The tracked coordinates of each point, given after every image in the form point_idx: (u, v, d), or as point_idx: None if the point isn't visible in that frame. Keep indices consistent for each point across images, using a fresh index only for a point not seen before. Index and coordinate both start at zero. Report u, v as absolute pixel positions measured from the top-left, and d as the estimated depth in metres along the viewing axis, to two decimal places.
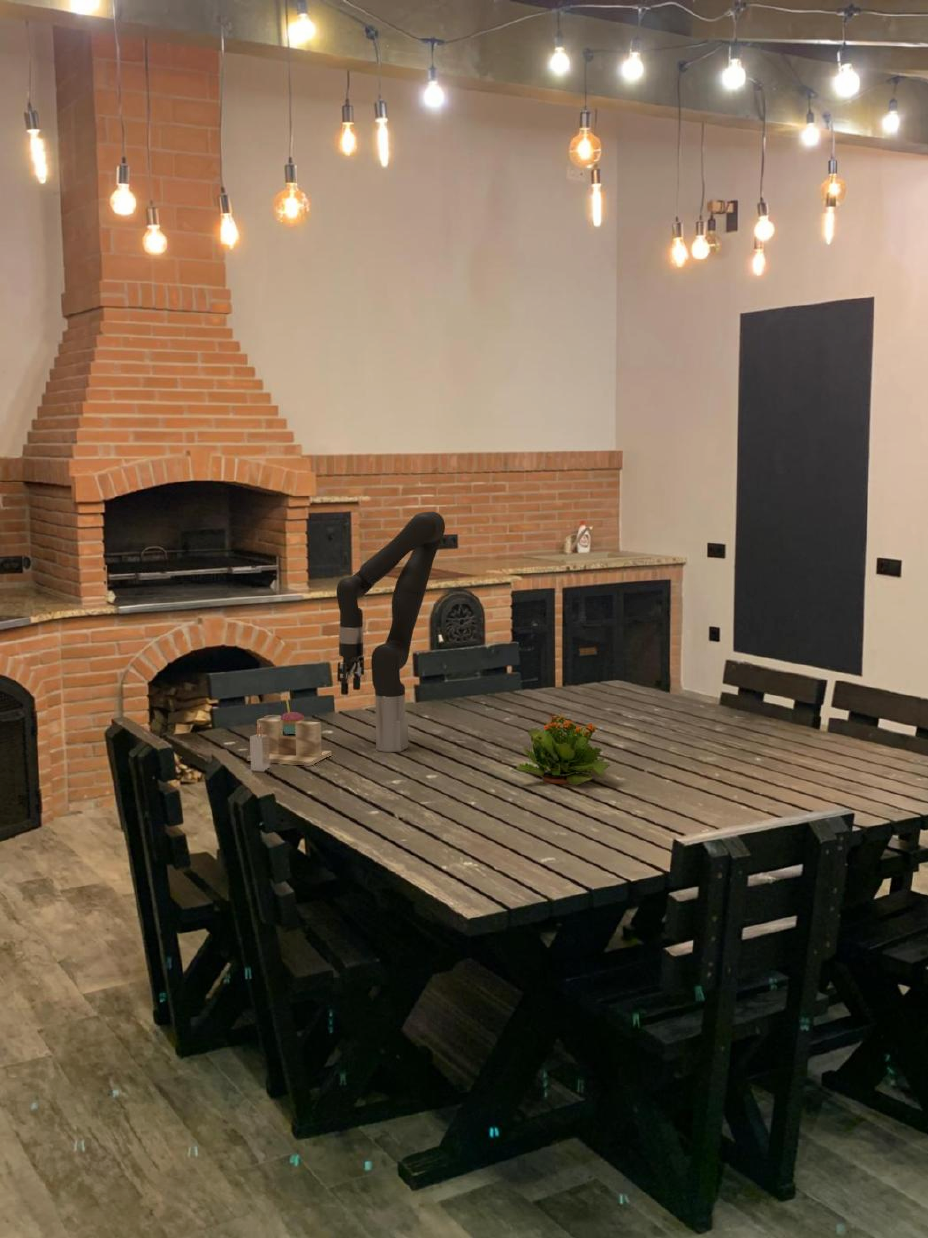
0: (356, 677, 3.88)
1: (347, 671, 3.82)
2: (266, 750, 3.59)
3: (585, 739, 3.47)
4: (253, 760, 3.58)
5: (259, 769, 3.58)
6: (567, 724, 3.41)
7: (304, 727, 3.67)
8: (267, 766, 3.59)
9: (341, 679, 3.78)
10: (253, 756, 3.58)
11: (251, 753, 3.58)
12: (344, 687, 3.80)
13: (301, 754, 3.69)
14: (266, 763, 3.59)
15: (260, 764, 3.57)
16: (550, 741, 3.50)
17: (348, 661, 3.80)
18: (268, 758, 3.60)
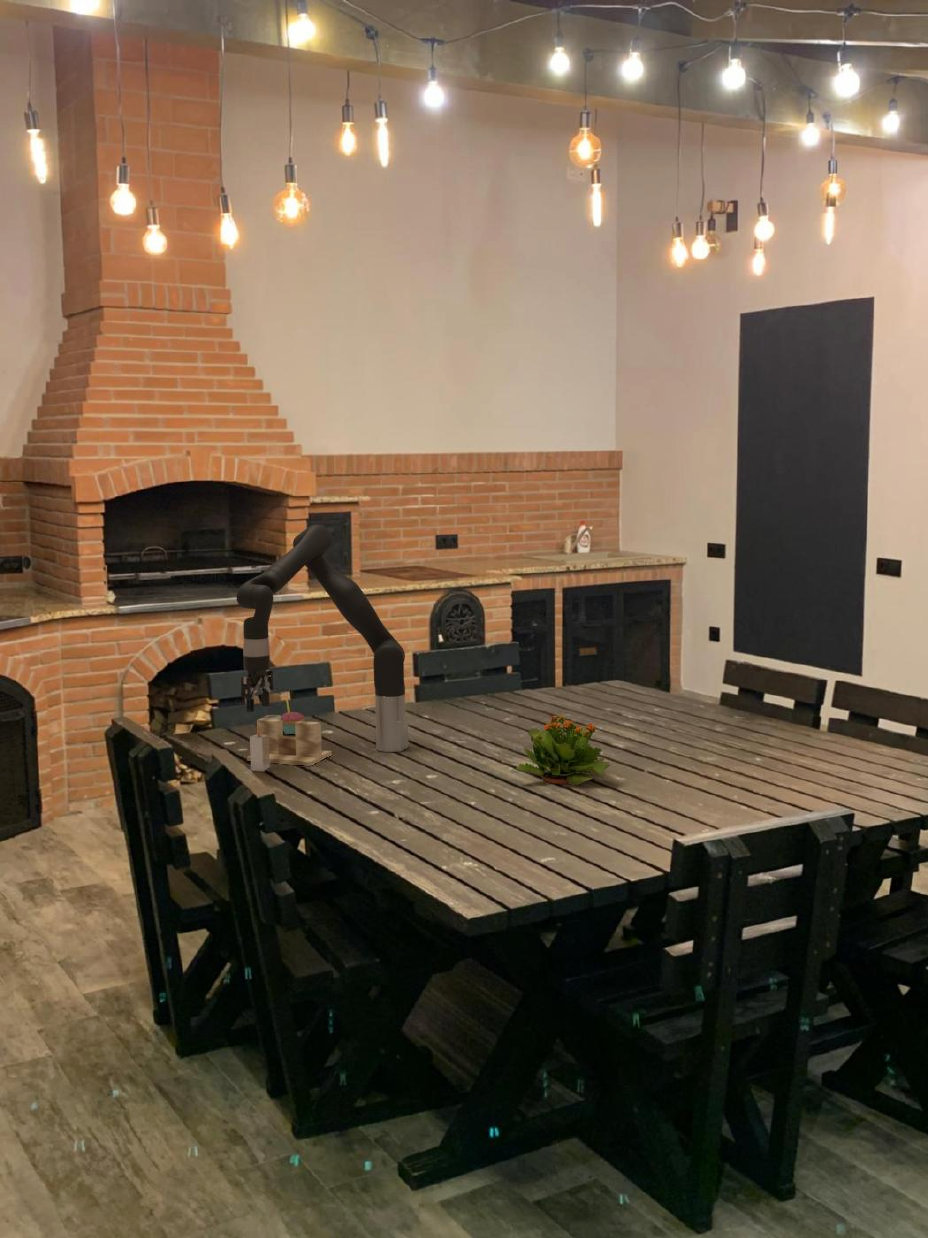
0: (264, 692, 3.61)
1: (253, 686, 3.54)
2: (266, 750, 3.59)
3: (585, 739, 3.47)
4: (253, 760, 3.58)
5: (259, 769, 3.58)
6: (567, 724, 3.41)
7: (304, 727, 3.67)
8: (267, 766, 3.59)
9: (245, 695, 3.50)
10: (253, 756, 3.58)
11: (251, 753, 3.58)
12: (249, 704, 3.52)
13: (301, 754, 3.69)
14: (266, 763, 3.59)
15: (260, 764, 3.57)
16: (550, 741, 3.50)
17: (253, 675, 3.52)
18: (268, 758, 3.60)
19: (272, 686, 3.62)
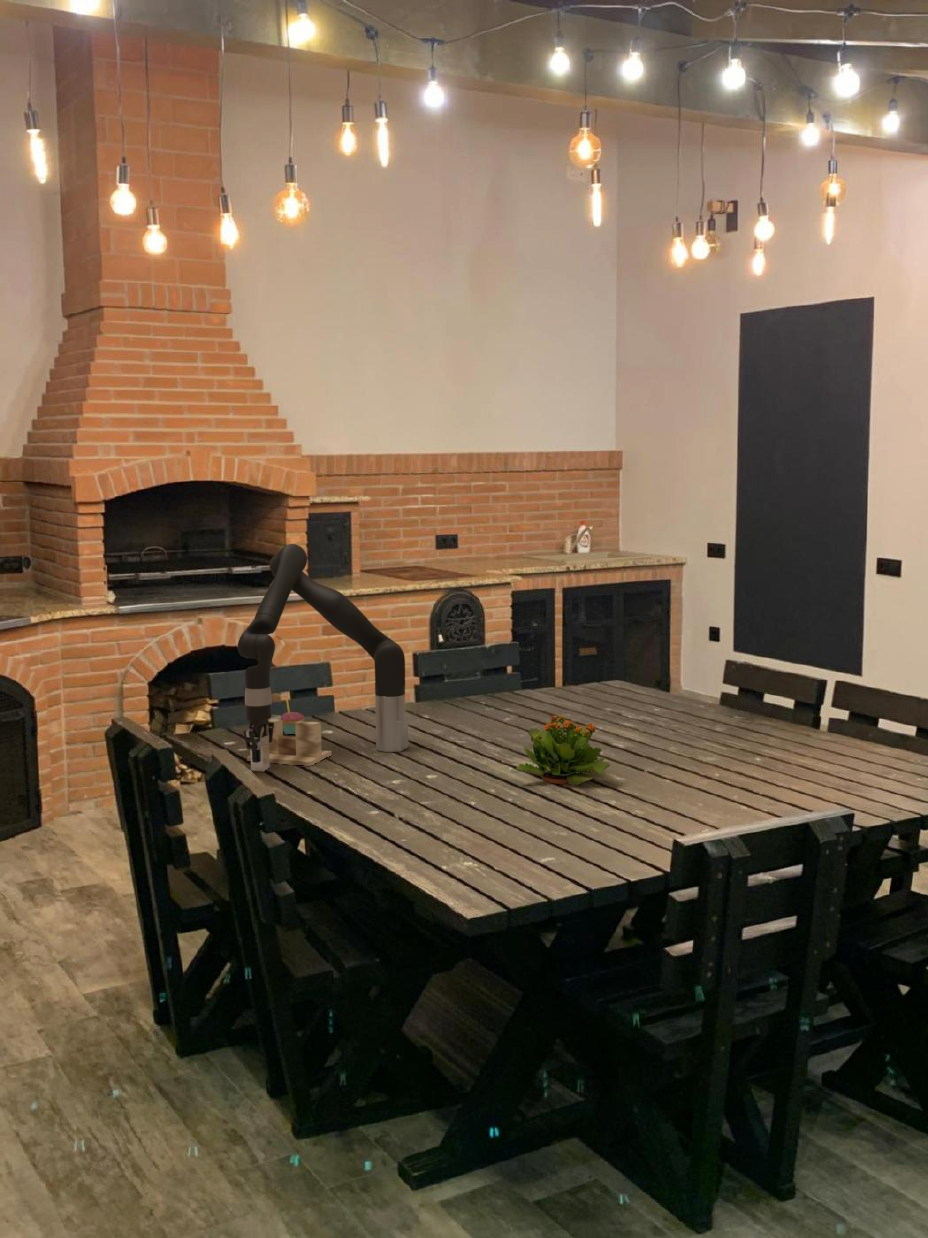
0: None
1: None
2: (266, 750, 3.59)
3: (585, 739, 3.47)
4: None
5: (259, 769, 3.57)
6: (567, 724, 3.41)
7: (304, 727, 3.67)
8: (267, 766, 3.59)
9: (251, 747, 3.54)
10: None
11: (251, 753, 3.58)
12: (255, 754, 3.56)
13: (301, 754, 3.69)
14: (266, 763, 3.59)
15: (260, 764, 3.57)
16: (550, 741, 3.50)
17: (254, 726, 3.54)
18: (268, 758, 3.60)
19: (271, 738, 3.62)
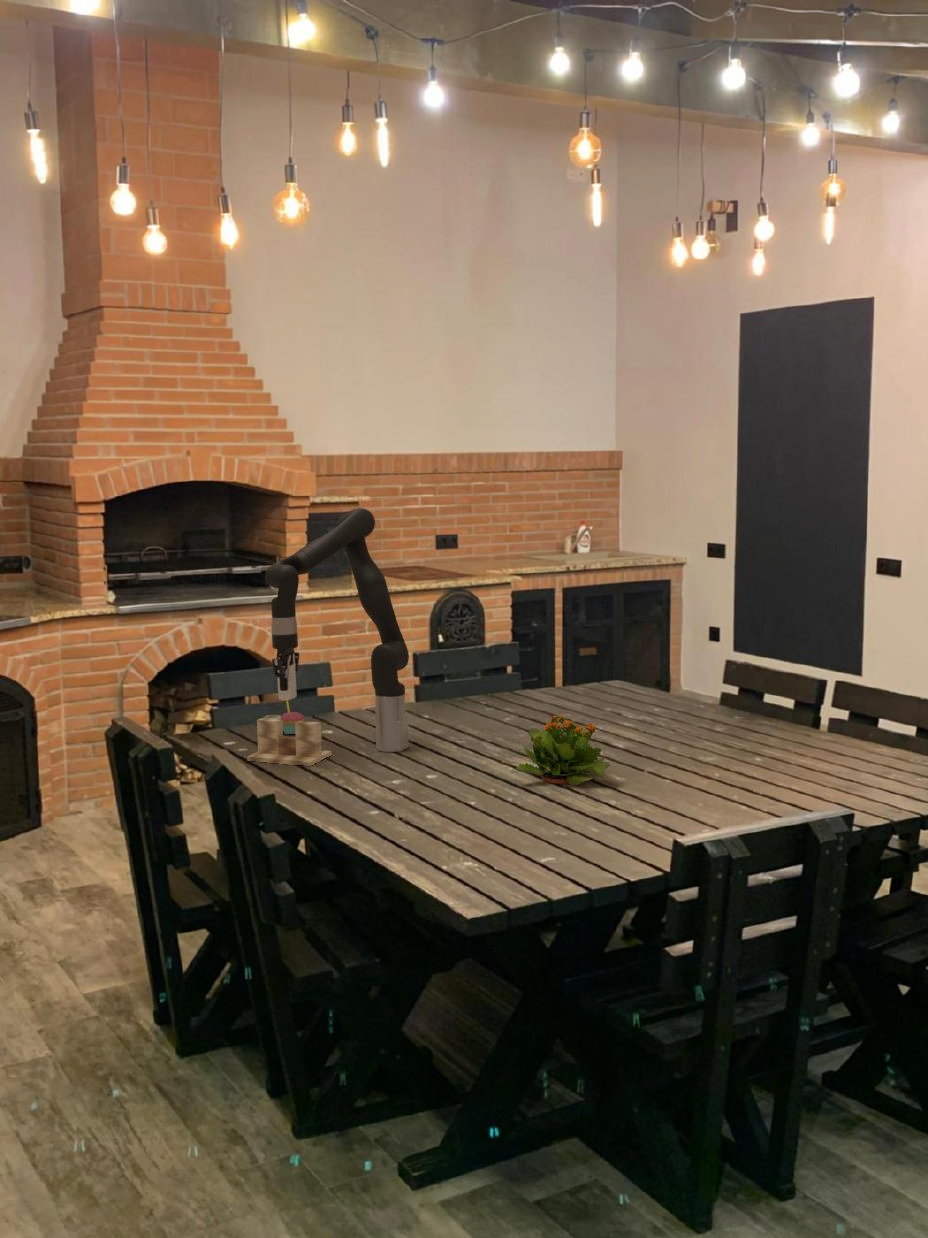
0: None
1: None
2: (293, 678, 3.66)
3: (585, 739, 3.47)
4: None
5: (287, 697, 3.65)
6: (567, 724, 3.41)
7: (304, 727, 3.67)
8: (294, 694, 3.67)
9: (279, 675, 3.62)
10: None
11: (278, 682, 3.65)
12: (283, 683, 3.63)
13: (301, 754, 3.69)
14: (293, 691, 3.66)
15: (288, 692, 3.65)
16: (550, 741, 3.50)
17: (282, 654, 3.62)
18: (295, 687, 3.67)
19: (297, 668, 3.70)
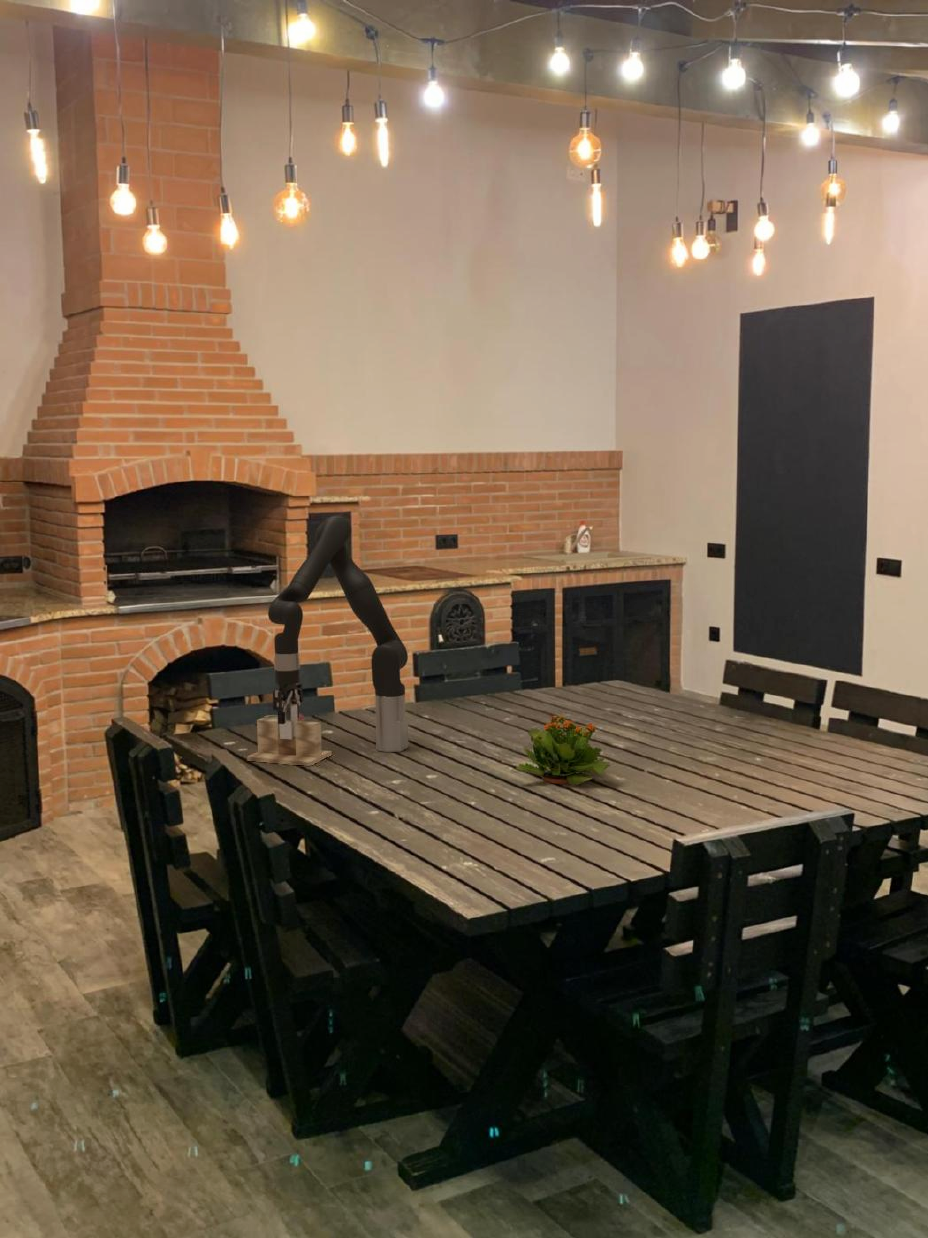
0: None
1: (283, 699, 3.67)
2: (294, 719, 3.70)
3: (585, 739, 3.47)
4: (282, 728, 3.69)
5: (288, 737, 3.69)
6: (567, 724, 3.41)
7: (304, 727, 3.67)
8: (295, 734, 3.71)
9: (277, 708, 3.63)
10: (282, 724, 3.69)
11: None
12: (281, 716, 3.65)
13: (301, 754, 3.69)
14: (294, 731, 3.70)
15: (289, 732, 3.69)
16: (550, 741, 3.50)
17: (284, 689, 3.65)
18: None
19: (301, 699, 3.75)
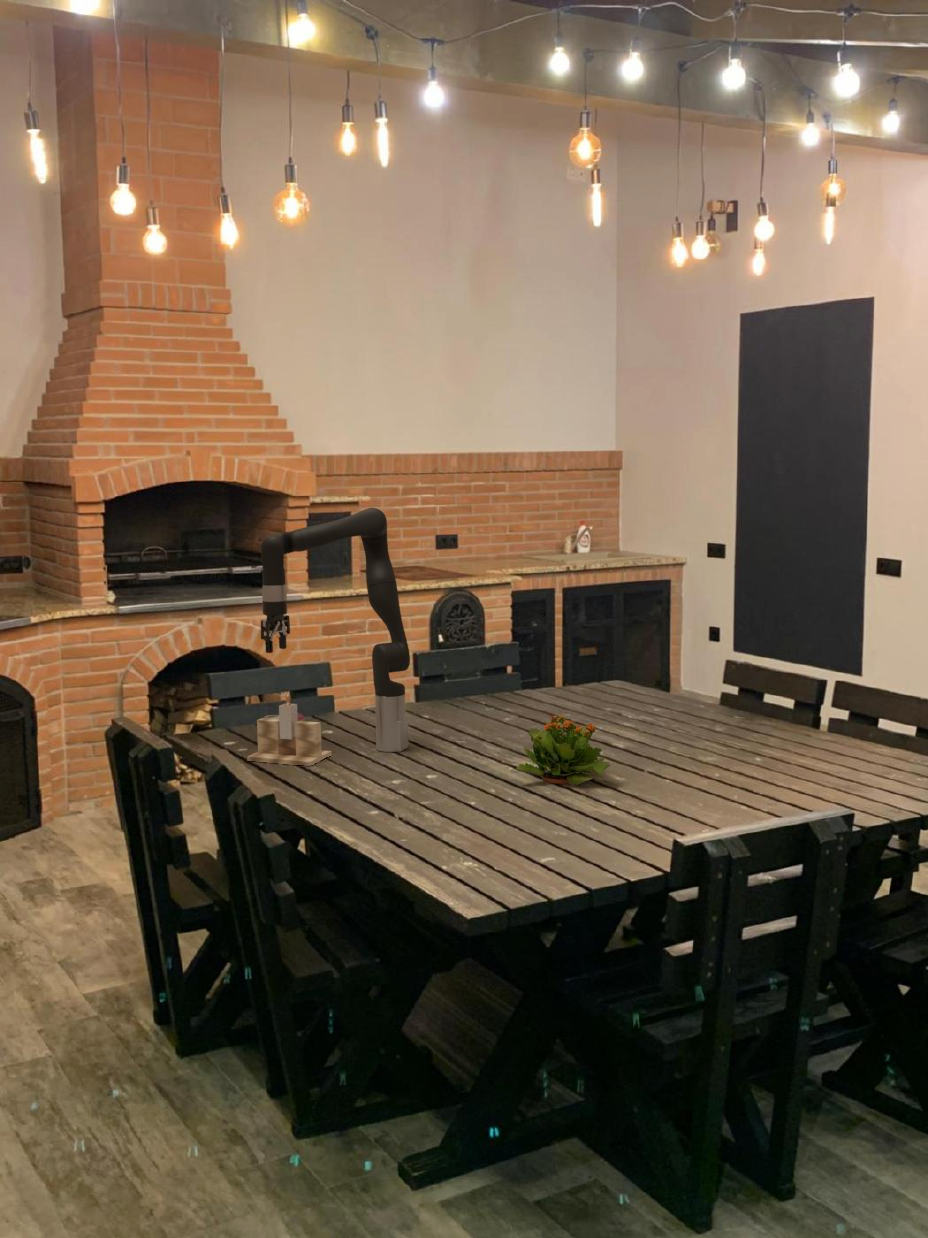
0: (282, 636, 3.89)
1: (271, 629, 3.83)
2: (294, 719, 3.70)
3: (585, 739, 3.47)
4: (282, 728, 3.69)
5: (288, 737, 3.69)
6: (567, 724, 3.41)
7: (304, 727, 3.67)
8: (295, 734, 3.71)
9: (264, 637, 3.79)
10: (282, 724, 3.69)
11: (280, 722, 3.69)
12: (268, 645, 3.81)
13: (301, 754, 3.69)
14: (294, 731, 3.70)
15: (289, 732, 3.69)
16: (550, 741, 3.50)
17: (271, 619, 3.81)
18: None
19: (289, 630, 3.91)
